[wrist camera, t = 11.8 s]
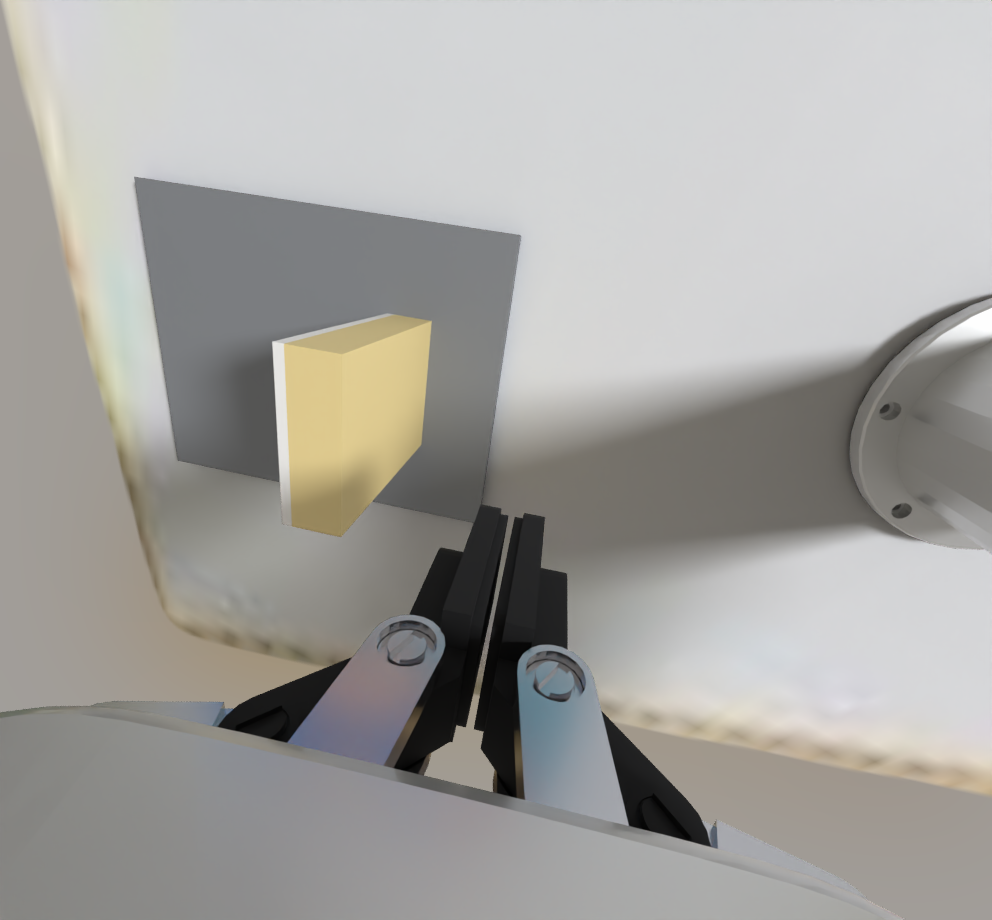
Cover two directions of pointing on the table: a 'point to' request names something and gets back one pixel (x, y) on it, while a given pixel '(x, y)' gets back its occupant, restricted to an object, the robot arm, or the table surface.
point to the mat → (323, 323)
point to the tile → (347, 415)
